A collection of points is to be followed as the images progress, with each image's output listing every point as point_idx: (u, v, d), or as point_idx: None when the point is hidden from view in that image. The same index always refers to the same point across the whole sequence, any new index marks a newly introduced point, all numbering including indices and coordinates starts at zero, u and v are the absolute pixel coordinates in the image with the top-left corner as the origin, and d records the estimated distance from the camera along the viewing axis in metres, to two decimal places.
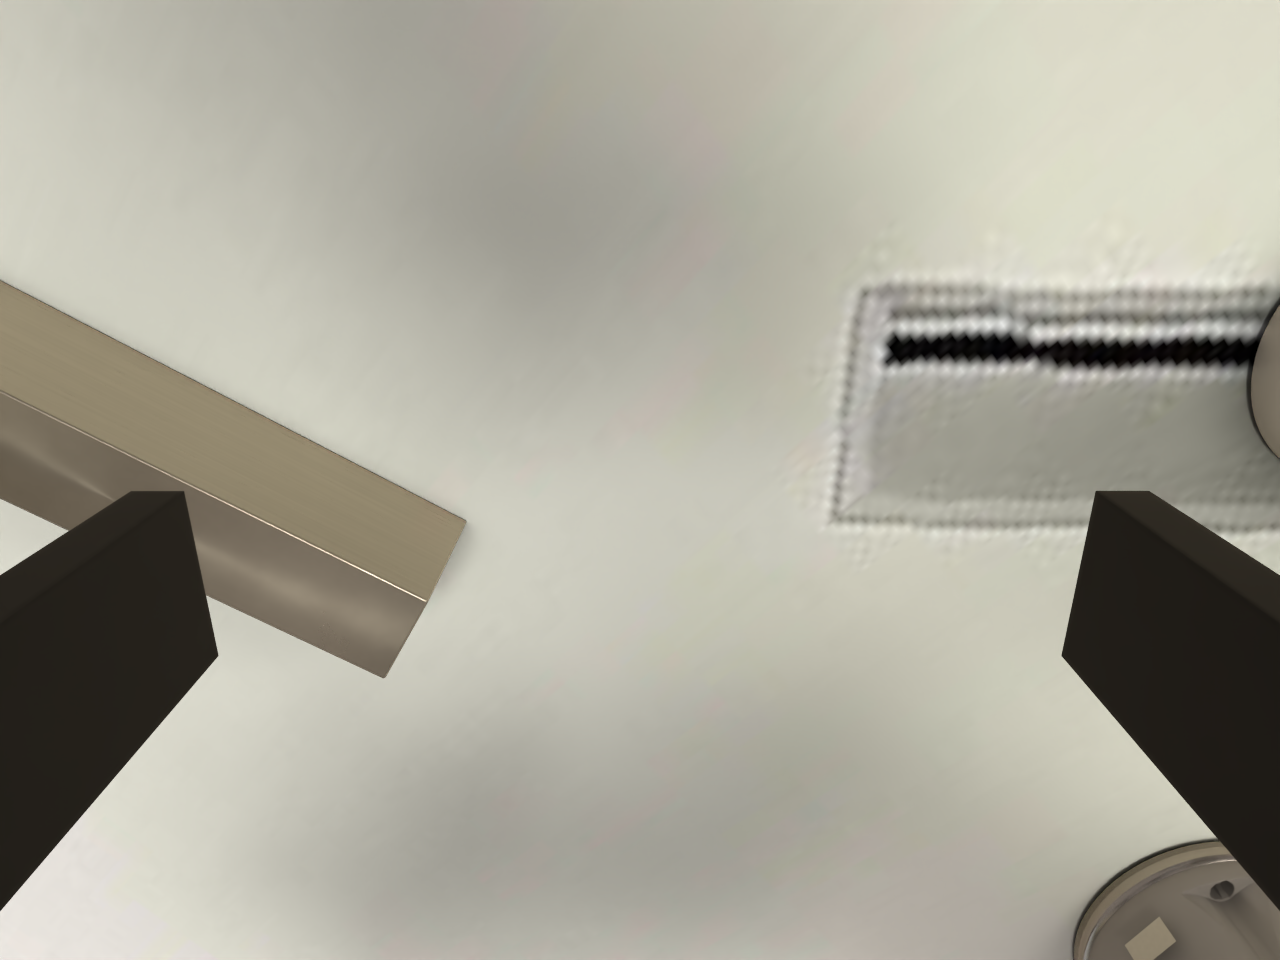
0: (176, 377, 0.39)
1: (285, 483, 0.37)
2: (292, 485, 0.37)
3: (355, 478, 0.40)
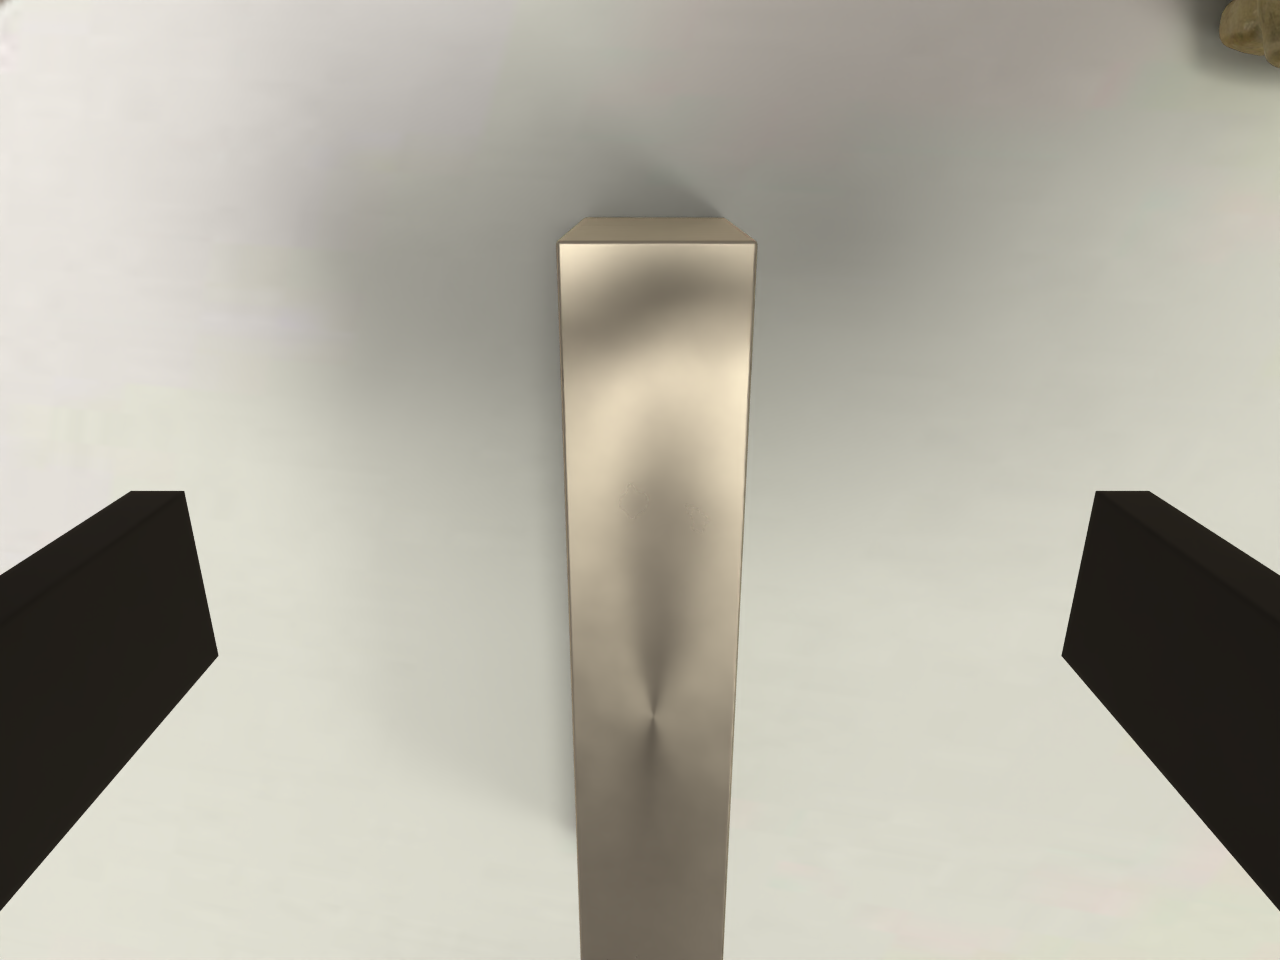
0: None
1: None
2: None
3: None
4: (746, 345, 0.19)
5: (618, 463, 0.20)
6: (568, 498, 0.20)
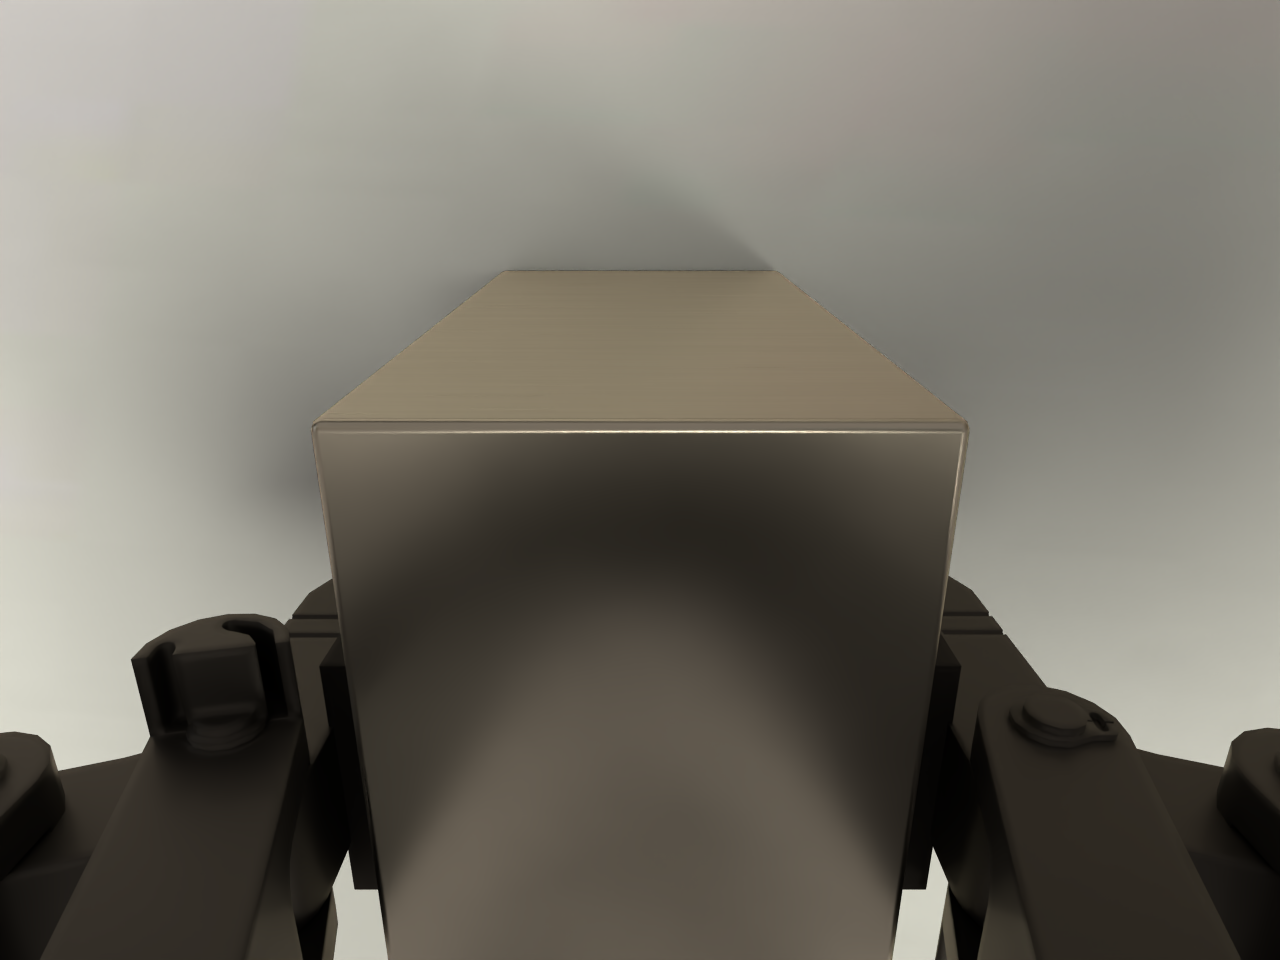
0: None
1: None
2: None
3: None
4: (913, 716, 0.06)
5: None
6: None
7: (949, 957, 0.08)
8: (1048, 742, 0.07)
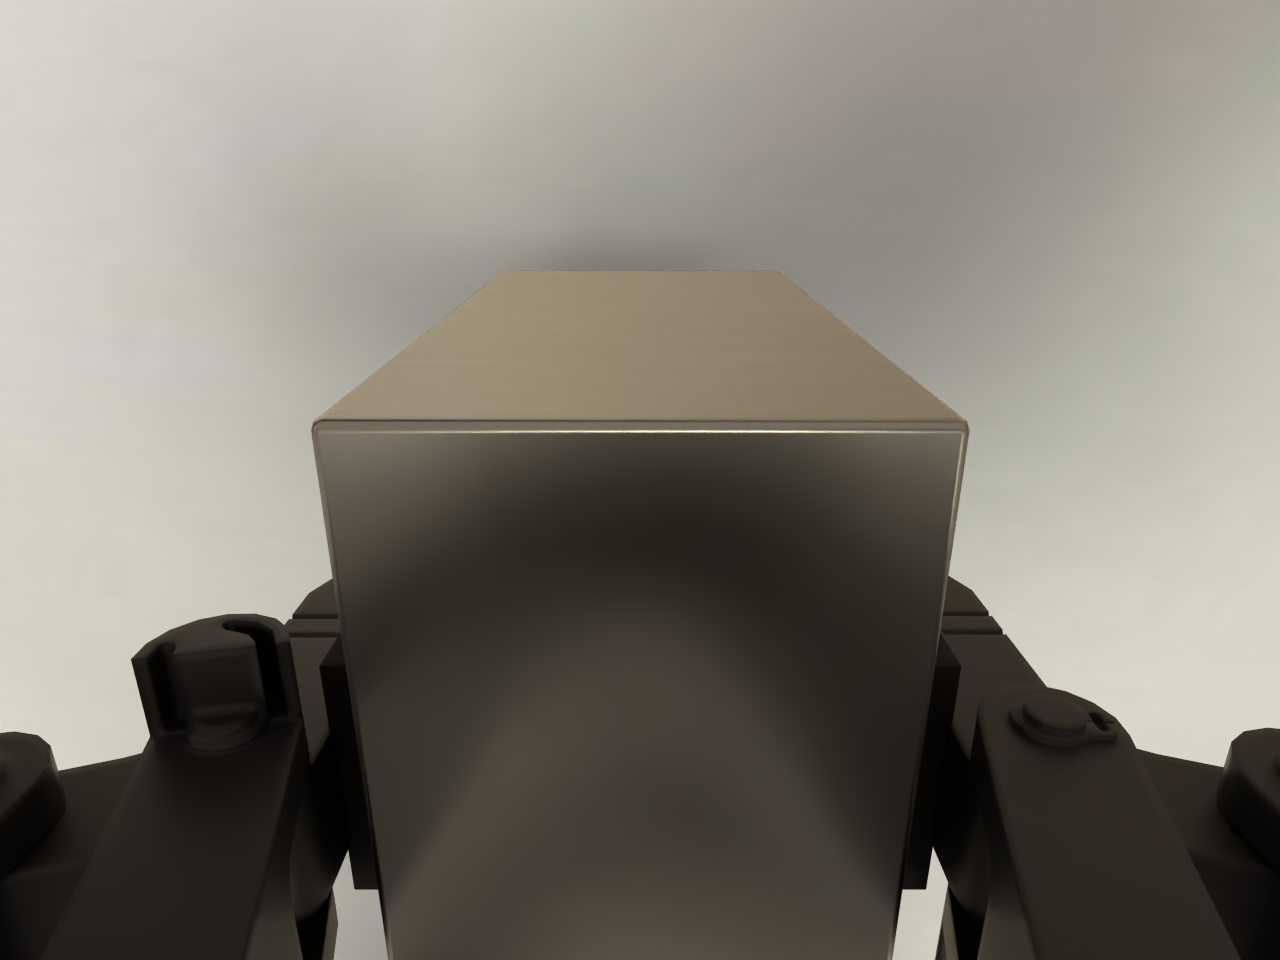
0: None
1: None
2: None
3: None
4: (913, 715, 0.06)
5: None
6: None
7: (949, 957, 0.08)
8: (1048, 742, 0.07)
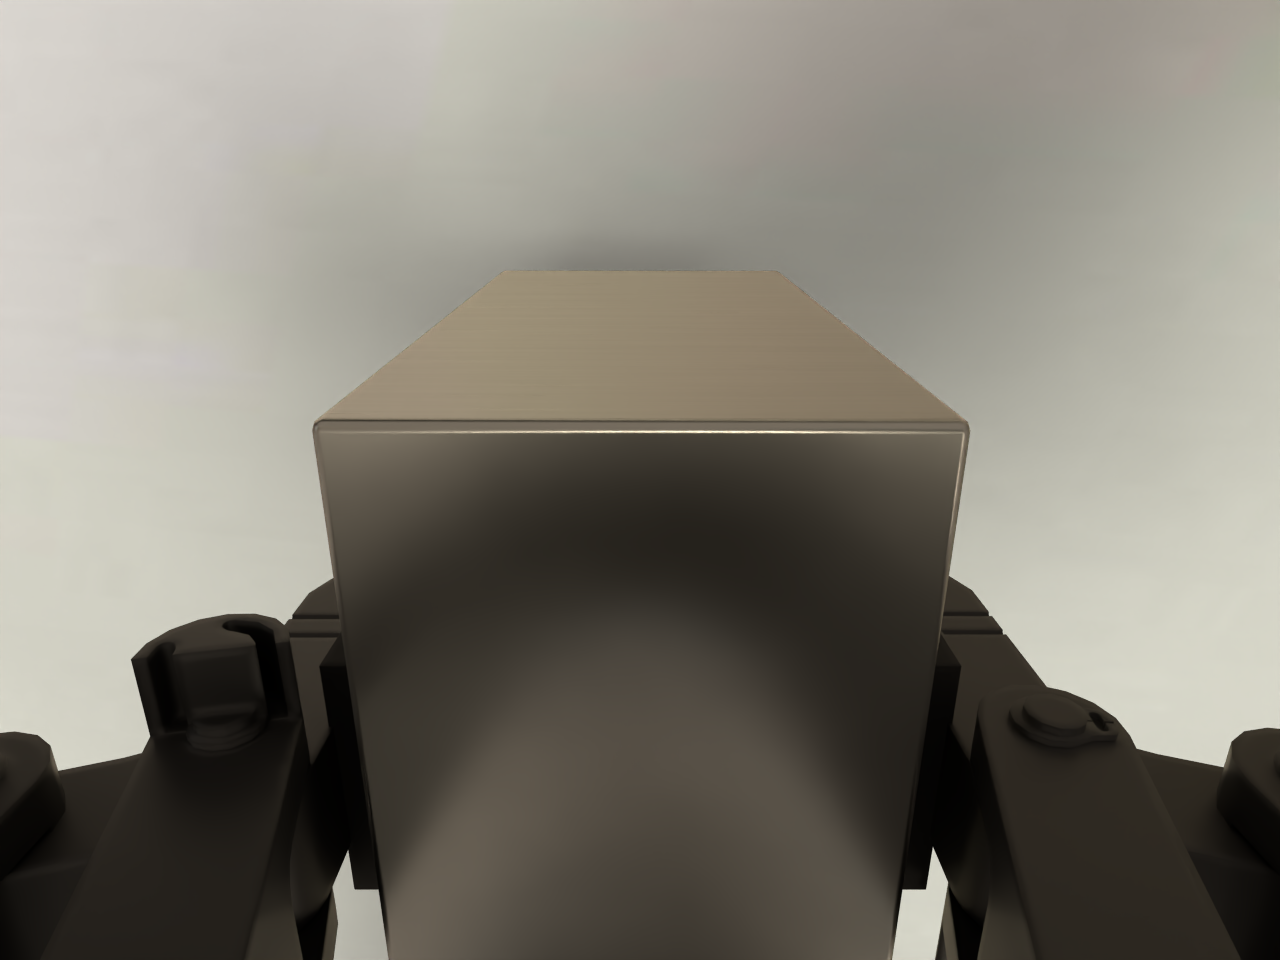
0: None
1: None
2: None
3: None
4: (913, 716, 0.06)
5: None
6: None
7: (949, 957, 0.08)
8: (1048, 742, 0.07)
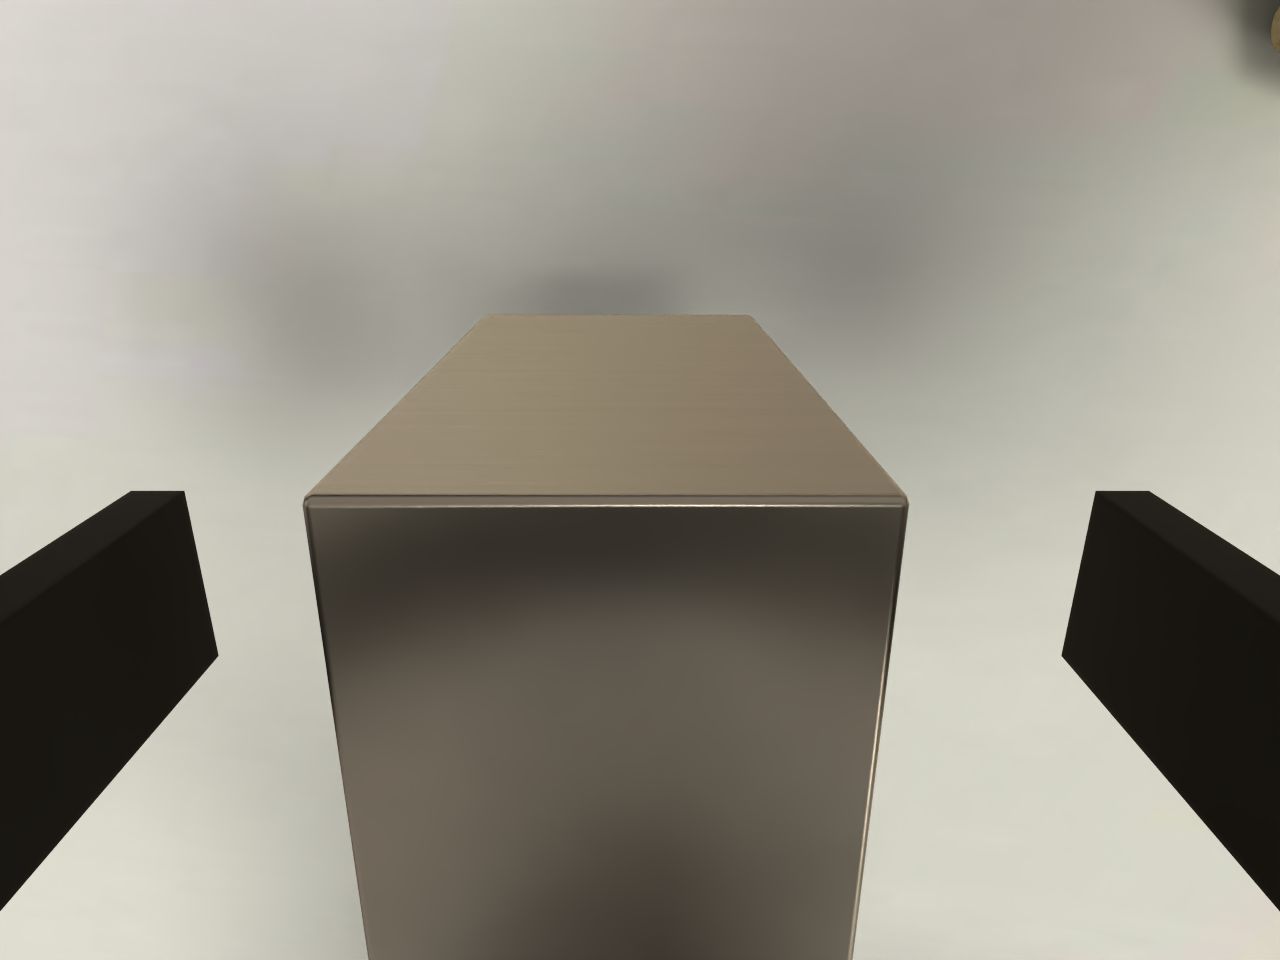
0: None
1: None
2: None
3: None
4: (863, 762, 0.07)
5: None
6: None
7: None
8: None
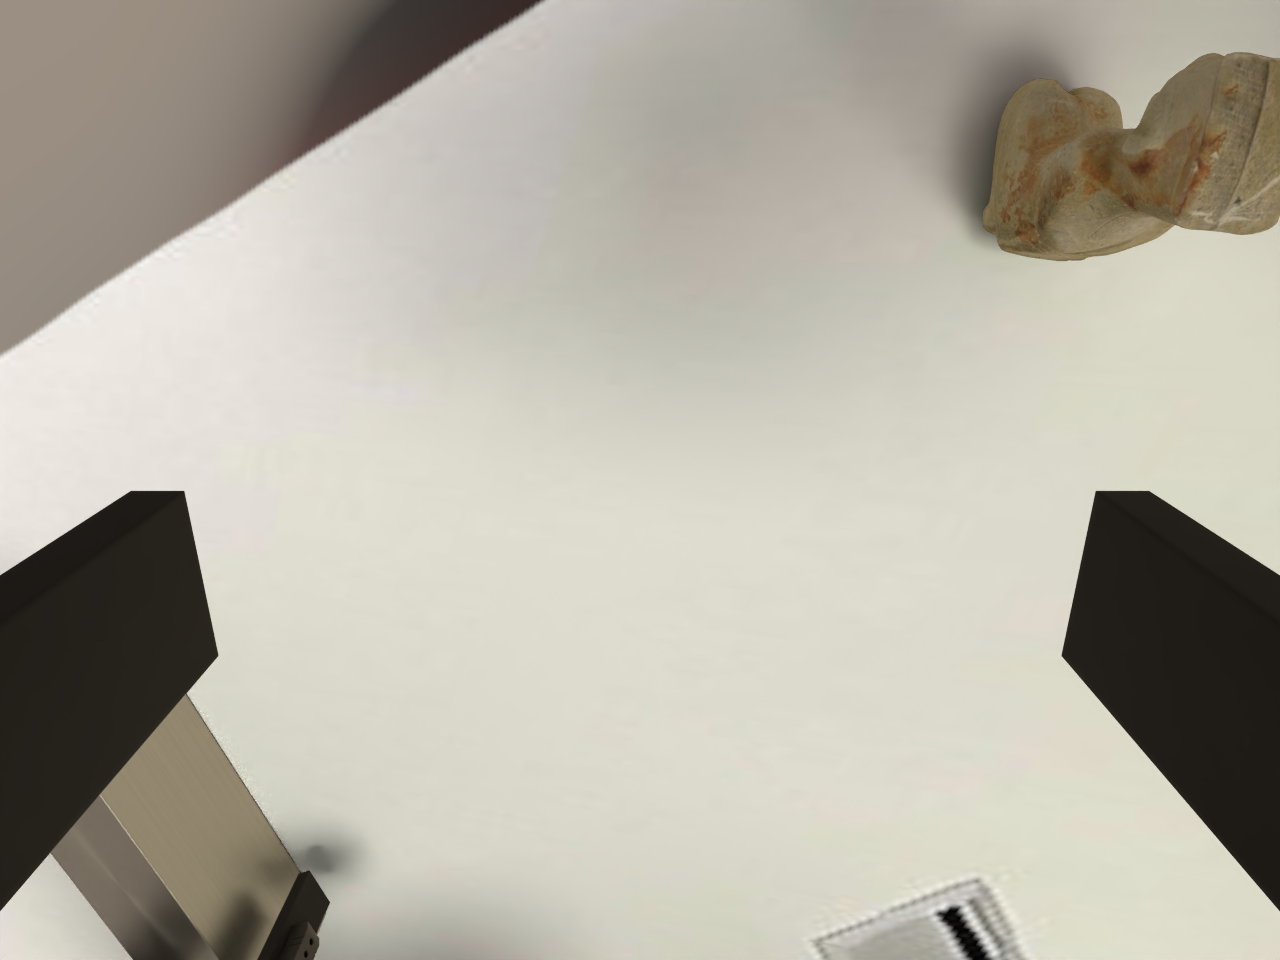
0: (206, 741, 0.49)
1: (235, 888, 0.48)
2: (238, 891, 0.48)
3: (277, 868, 0.52)
4: None
5: None
6: None
7: None
8: None
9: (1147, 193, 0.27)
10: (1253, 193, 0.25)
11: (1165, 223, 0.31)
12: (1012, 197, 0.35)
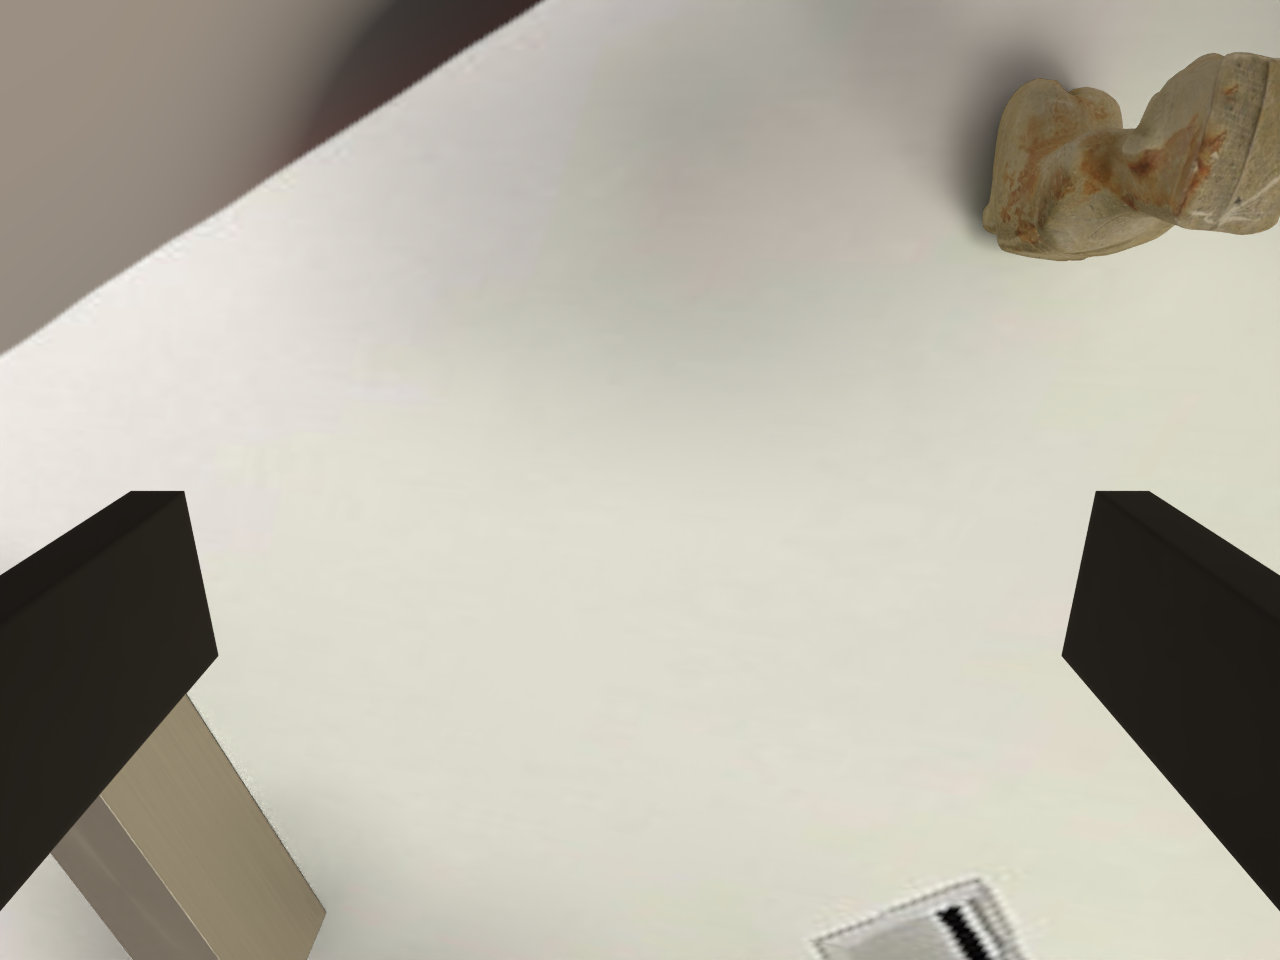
0: (206, 741, 0.49)
1: (235, 888, 0.48)
2: (238, 891, 0.48)
3: (277, 868, 0.52)
4: None
5: None
6: None
7: None
8: None
9: (1147, 193, 0.27)
10: (1253, 193, 0.25)
11: (1165, 223, 0.31)
12: (1012, 197, 0.35)
